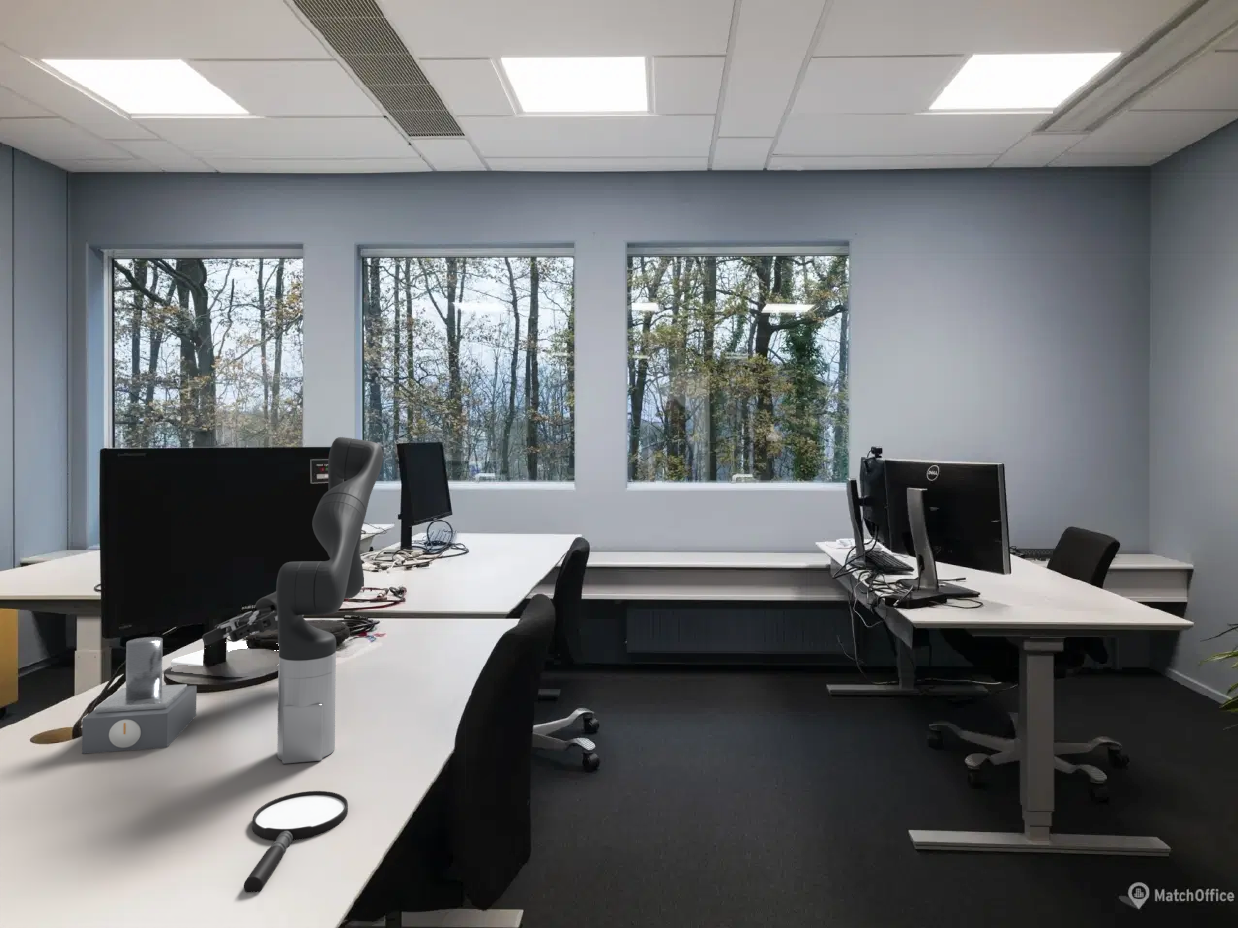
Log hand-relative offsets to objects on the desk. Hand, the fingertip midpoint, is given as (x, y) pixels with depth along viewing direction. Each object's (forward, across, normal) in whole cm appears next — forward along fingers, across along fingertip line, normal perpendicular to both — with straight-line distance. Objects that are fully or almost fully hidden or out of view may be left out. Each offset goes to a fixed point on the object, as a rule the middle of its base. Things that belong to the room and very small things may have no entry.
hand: (217, 639), depth 143 cm
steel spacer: (+14, -5, +4) cm, 15 cm away
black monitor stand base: (-23, -33, +15) cm, 43 cm away
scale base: (+15, -6, +11) cm, 20 cm away
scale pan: (+14, -5, +5) cm, 16 cm away
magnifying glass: (+30, +48, +19) cm, 60 cm away
